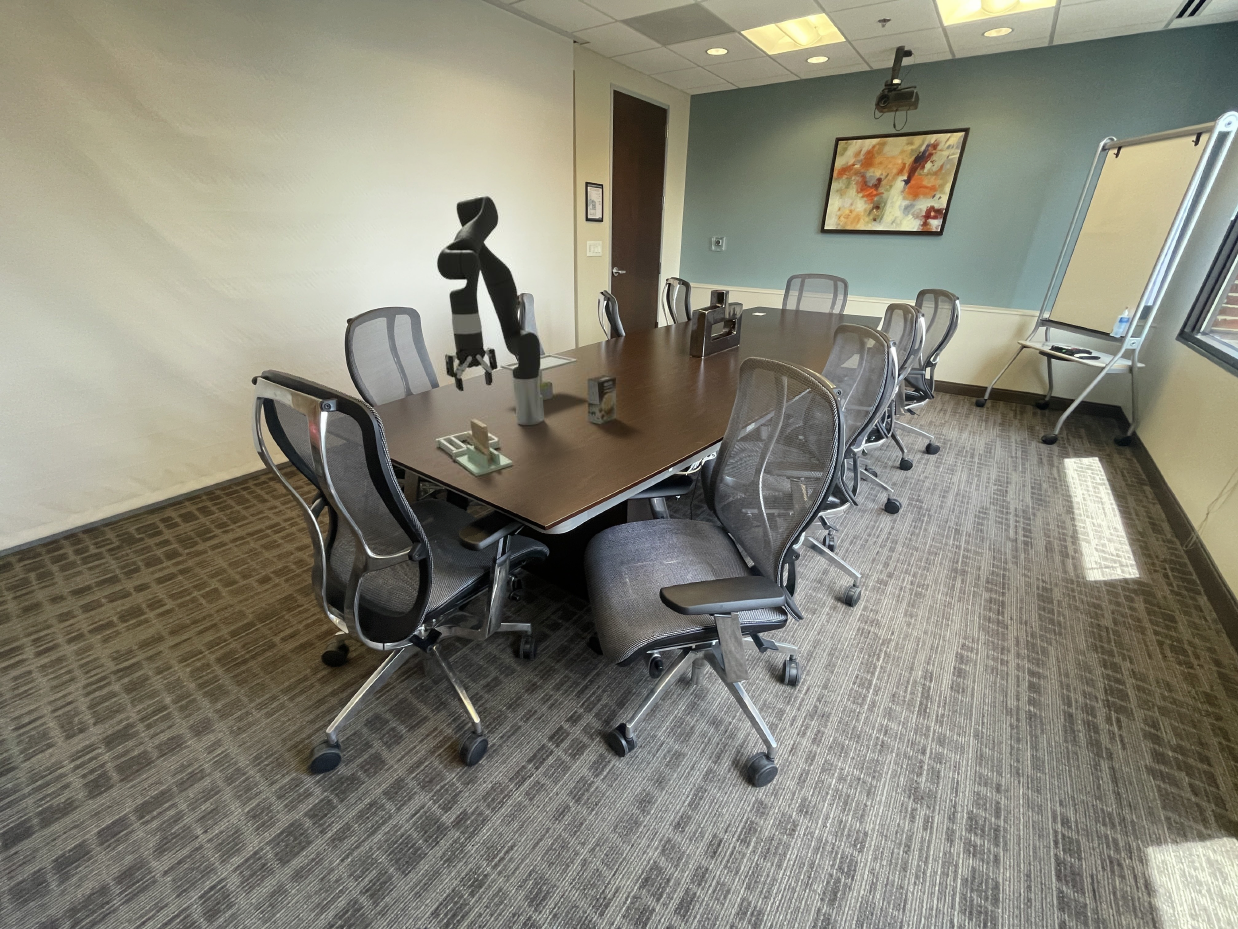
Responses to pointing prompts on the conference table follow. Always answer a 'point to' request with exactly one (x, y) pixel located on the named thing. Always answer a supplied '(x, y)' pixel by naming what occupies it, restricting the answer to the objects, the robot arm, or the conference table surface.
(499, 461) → the stand
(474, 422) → the wooden board
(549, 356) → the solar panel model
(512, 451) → the conference table surface
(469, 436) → the offcut stack
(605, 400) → the coffee box
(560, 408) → the conference table surface
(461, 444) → the rack
